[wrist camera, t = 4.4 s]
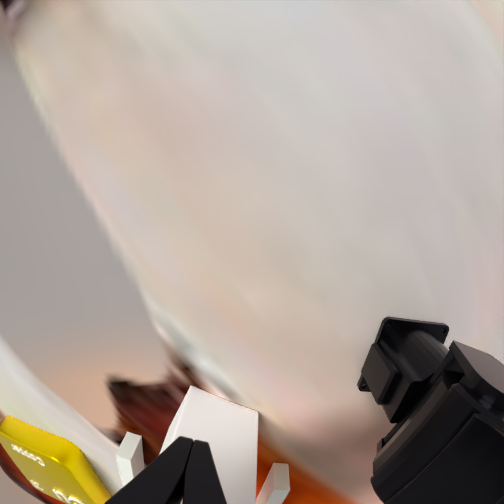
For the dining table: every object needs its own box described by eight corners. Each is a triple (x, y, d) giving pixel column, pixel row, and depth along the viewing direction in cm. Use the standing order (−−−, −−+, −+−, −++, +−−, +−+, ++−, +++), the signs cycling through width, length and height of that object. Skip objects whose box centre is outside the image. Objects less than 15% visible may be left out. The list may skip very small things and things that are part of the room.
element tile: (78, 440, 25) (61, 465, 20) (116, 500, 28) (107, 522, 23) (4, 410, 25) (-13, 427, 21) (44, 473, 28) (33, 490, 24)
